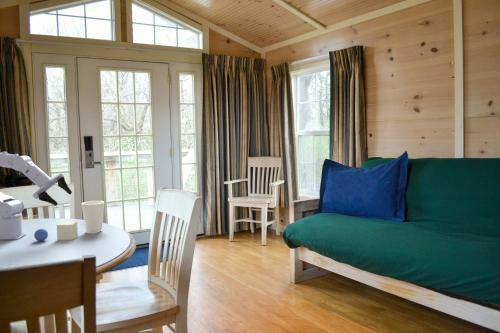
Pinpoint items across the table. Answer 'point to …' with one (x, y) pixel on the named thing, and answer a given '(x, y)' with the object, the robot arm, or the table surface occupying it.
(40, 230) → the ball
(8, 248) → the table surface
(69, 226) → the white cubic block
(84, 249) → the table surface
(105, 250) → the table surface
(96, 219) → the foam cup
